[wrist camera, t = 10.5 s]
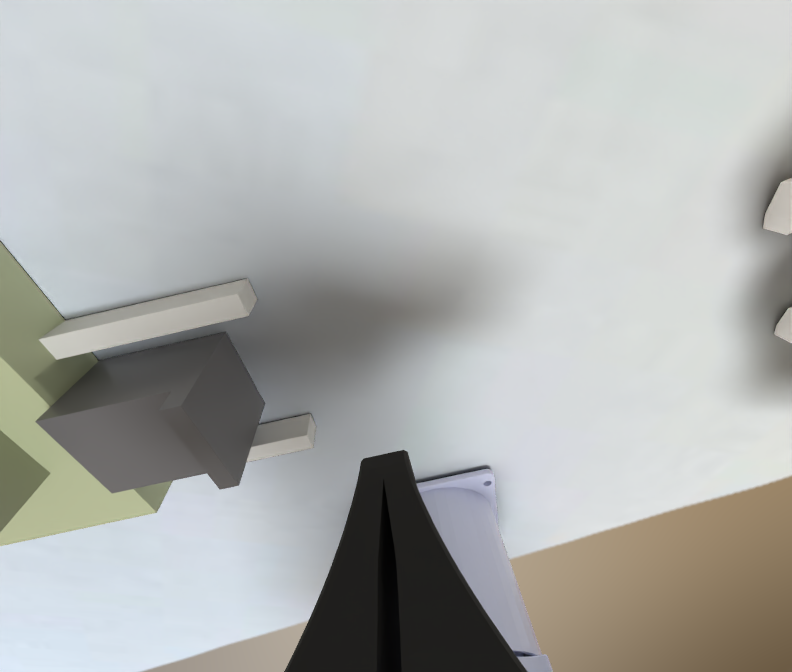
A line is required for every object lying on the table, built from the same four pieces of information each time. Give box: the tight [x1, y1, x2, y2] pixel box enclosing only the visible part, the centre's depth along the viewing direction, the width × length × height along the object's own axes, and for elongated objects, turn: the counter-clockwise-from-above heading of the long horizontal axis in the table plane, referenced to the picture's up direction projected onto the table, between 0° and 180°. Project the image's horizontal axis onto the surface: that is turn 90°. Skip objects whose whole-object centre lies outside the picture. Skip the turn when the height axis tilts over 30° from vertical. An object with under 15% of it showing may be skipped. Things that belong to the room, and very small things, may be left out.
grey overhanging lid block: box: [35, 332, 265, 493], centre depth 15 cm, size 4×6×5 cm
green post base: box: [0, 242, 316, 546], centre depth 14 cm, size 14×16×6 cm
